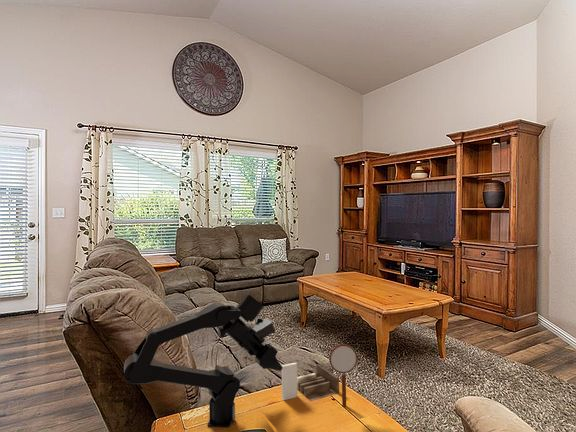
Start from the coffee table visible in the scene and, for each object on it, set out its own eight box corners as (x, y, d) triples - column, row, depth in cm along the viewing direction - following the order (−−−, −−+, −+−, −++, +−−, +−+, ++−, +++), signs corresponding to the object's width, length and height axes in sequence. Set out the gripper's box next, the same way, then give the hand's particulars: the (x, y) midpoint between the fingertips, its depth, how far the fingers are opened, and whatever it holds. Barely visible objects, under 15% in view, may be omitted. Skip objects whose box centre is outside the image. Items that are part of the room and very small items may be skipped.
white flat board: (283, 405, 108) (283, 366, 108) (281, 403, 109) (281, 365, 109) (297, 401, 110) (296, 363, 110) (295, 399, 111) (295, 362, 111)
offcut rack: (310, 405, 107) (309, 384, 107) (291, 388, 118) (291, 369, 119) (339, 397, 112) (338, 377, 112) (319, 382, 123) (318, 363, 123)
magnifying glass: (357, 408, 105) (356, 342, 106) (359, 411, 103) (357, 344, 104) (329, 410, 104) (328, 343, 105) (330, 413, 103) (329, 345, 103)
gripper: (270, 319, 97) (305, 352, 102) (249, 306, 114) (279, 334, 119) (244, 352, 94) (281, 384, 98) (226, 333, 111) (258, 361, 115)
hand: (275, 363), depth 108 cm, fingers open, 9 cm apart
